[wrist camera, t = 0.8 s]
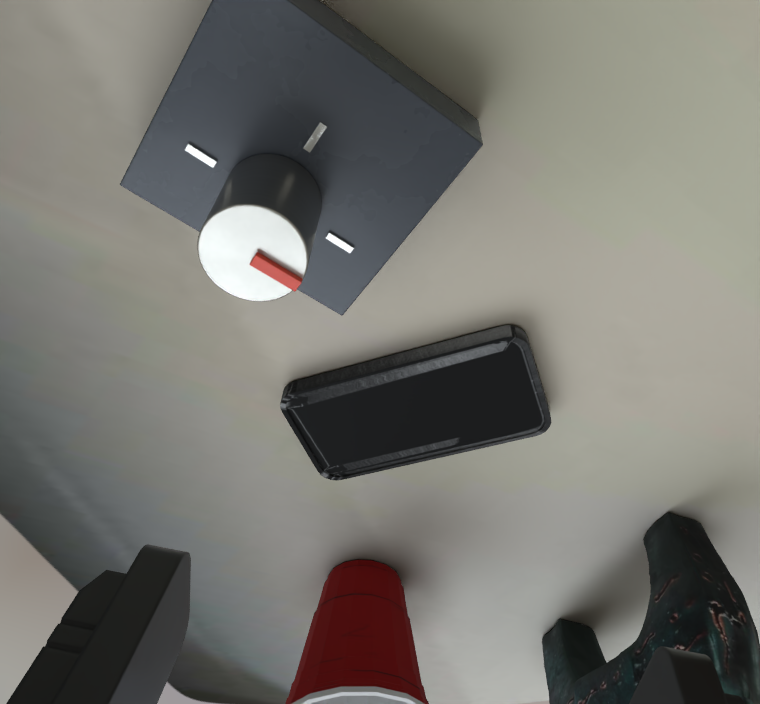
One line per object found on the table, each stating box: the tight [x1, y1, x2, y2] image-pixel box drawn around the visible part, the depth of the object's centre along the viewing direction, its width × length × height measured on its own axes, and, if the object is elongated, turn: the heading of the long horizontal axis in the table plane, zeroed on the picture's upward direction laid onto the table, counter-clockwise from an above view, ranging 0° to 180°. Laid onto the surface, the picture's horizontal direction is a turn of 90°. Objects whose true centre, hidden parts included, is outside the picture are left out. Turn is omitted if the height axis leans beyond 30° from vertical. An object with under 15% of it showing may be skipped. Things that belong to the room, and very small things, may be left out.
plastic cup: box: [286, 560, 429, 704], centre depth 49 cm, size 11×11×12 cm
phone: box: [280, 325, 551, 480], centre depth 42 cm, size 8×1×15 cm
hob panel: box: [120, 0, 483, 315], centre depth 32 cm, size 12×12×3 cm
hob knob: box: [198, 154, 322, 301], centre depth 30 cm, size 4×4×5 cm
